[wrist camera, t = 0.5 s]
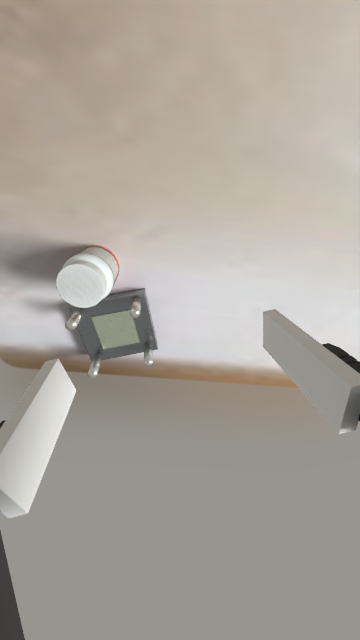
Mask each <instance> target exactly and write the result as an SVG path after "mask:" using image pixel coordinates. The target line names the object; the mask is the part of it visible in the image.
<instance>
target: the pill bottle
mask: <svg viewBox="0 0 360 640" xmlns="http://www.w3.org/2000/svg"><path fill="white" fill-rule="evenodd" d="M119 269H120V268H119V262H118V259H117V257H116V256H115V254H114V253H113V252H112V251H110V250H109V249H107V248H105V247H102V246H90V247H88V248H86V249H84V250H83V251H81V252H79V253H78V254H76V255H74V256H72V257H70V258H69V259H68V260H67V261H66V262H65V264H64V265H63V267H62V269H61V270H60V272H59V273H58V275H57V278H56V287H57V290H58V292H59V294H60V296H61V297H62V298H63V299H64V300H65V301H66V302H67V303H69V304H71V305H73V306H75V307H79V308H88V307H92V306H94V305H96V304H98V303H99V302H100V301H101V300H102V299H104V298H105V297H106V296H107V295H108V294H109V293H110V292H111V290H112V288H113V286H114V283H115V281H116V279H117V277H118V274H119Z"/></svg>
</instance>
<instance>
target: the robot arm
mask: <svg viewBox="0 0 360 640" xmlns="http://www.w3.org/2000/svg"><path fill="white" fill-rule="evenodd" d="M263 347H264V348H265V349H266V351H267V352H268V353H269V354H270V355H271V356H272V358H273V359H274V360H275V361H276V362H277V363H278V365H279V366H280V367H281V368H282V369H283V370H284V371H285V373H286V374H287V375H288V376H289V377H290V378H291V380H292V381H293V382H294V383H295V384H296V385H297V387H298V388H299V389H300V390H301V391H302V392H303V393H304V395H306V397H307V398H308V399H309V400H310V402H311V403H312V404H313V405H314V406H315V407H316V408H317V410H318V411H319V412H320V413H321V414H322V416H324V418H325V419H326V420H327V421H328V423H330V425H331V426H332V427H333V428H334V429H335V431H336V432H337V433H338V434H341V433H345V432H349V431H353V430H356V427H357V424H358V421H360V362H359V361H357V360H356V359H355V358H354V357H352V356H350V355H349V354H348V353H346V352H345V351H344V350H342V349H341V348H339V347H336V346H334V345H331V344H329V343H327V344H323V345H321V344H320V343H319V342H317V341H316V340H315V339H313V338H312V337H311V336H309V335H308V334H307V333H306V332H304V331H303V330H302V329H300V328H299V327H298V326H296V325H295V324H294V323H292V322H291V321H290V320H288V319H287V318H286V317H284V316H283V315H282V314H281V313H279V312H278V311H277V310H275V309H274V310H269V311H265V312H263ZM75 393H76V389H75V387H74V386H73V384H72V382H71V380H70V379H69V377H68V375H67V373H66V371H65V370H64V368H63V366H62V364H61V363H60V361H59V359H54V360H50V361H46V362H45V363H44V365H43V366H42V368H41V369H40V371H39V372H38V374H37V375H36V377H35V378H34V380H33V381H32V383H31V384H30V386H29V387H28V389H27V390H26V391H25V393H24V395H23V396H22V397H21V399H20V400H19V402H18V403H17V405H16V406H15V408H14V409H13V411H12V412H11V414H10V415H9V417H8V418H7V420H5V421H2V422H1V423H0V512H1V513H3V514H4V515H6V517H8V518H12V517H15V516H19V515H23V514H27V513H28V511H29V509H30V506H31V504H32V501H33V499H34V496H35V494H36V491H37V489H38V486H39V484H40V481H41V479H42V476H43V474H44V471H45V469H46V466H47V463H48V461H49V459H50V456H51V453H52V451H53V448H54V446H55V443H56V441H57V438H58V436H59V433H60V431H61V428H62V426H63V423H64V421H65V418H66V416H67V413H68V410H69V408H70V405H71V403H72V400H73V398H74V395H75ZM0 640H25V639H24V634H23V630H22V626H21V621H20V617H19V613H18V608H17V604H16V599H15V594H14V591H13V586H12V581H11V576H10V572H9V568H8V563H7V559H6V555H5V550H4V545H3V541H2V536H1V532H0Z"/></svg>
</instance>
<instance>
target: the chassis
mask: <svg viewBox="0 0 360 640" xmlns="http://www.w3.org/2000/svg"><path fill="white" fill-rule="evenodd" d="M69 309H70V312H71V314H72V316H71V317H70V318H69V320H68V321H67V322H66V324H65V327H66V328H67V329H68V330H74V329H75V328H76V327H77V328H78V330H79V333H80V335H81V337H82V340H83V342H84V345H85V347H86V349H87V352H88V354H89V356H90V359H91V361H92V364H91V366H90V369H89V372H88V377H89V378H96V377H97V374H98V370H99V367H100V364H101V361H102V360H106V359H111V358H116V357H121V356H126V355H131V354H136V353H141V352H144V365H145V366H146V367H151V366H152V365H153V352H152V350H156V349H158V348H157V340H156V335H155V331H154V327H153V322H152V318H151V314H150V309H149V305H148V301H147V296H146V292H145V288H144V289H138V290H133V291H127V292H122V293H116V294H111V295H107V296H106V297H105V298H104V299H102V300H101V301H100V302H99V303H98V304H96V305H94V306H92V307H88V308H79V307H75V306H73V305H70V306H69Z"/></svg>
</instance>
